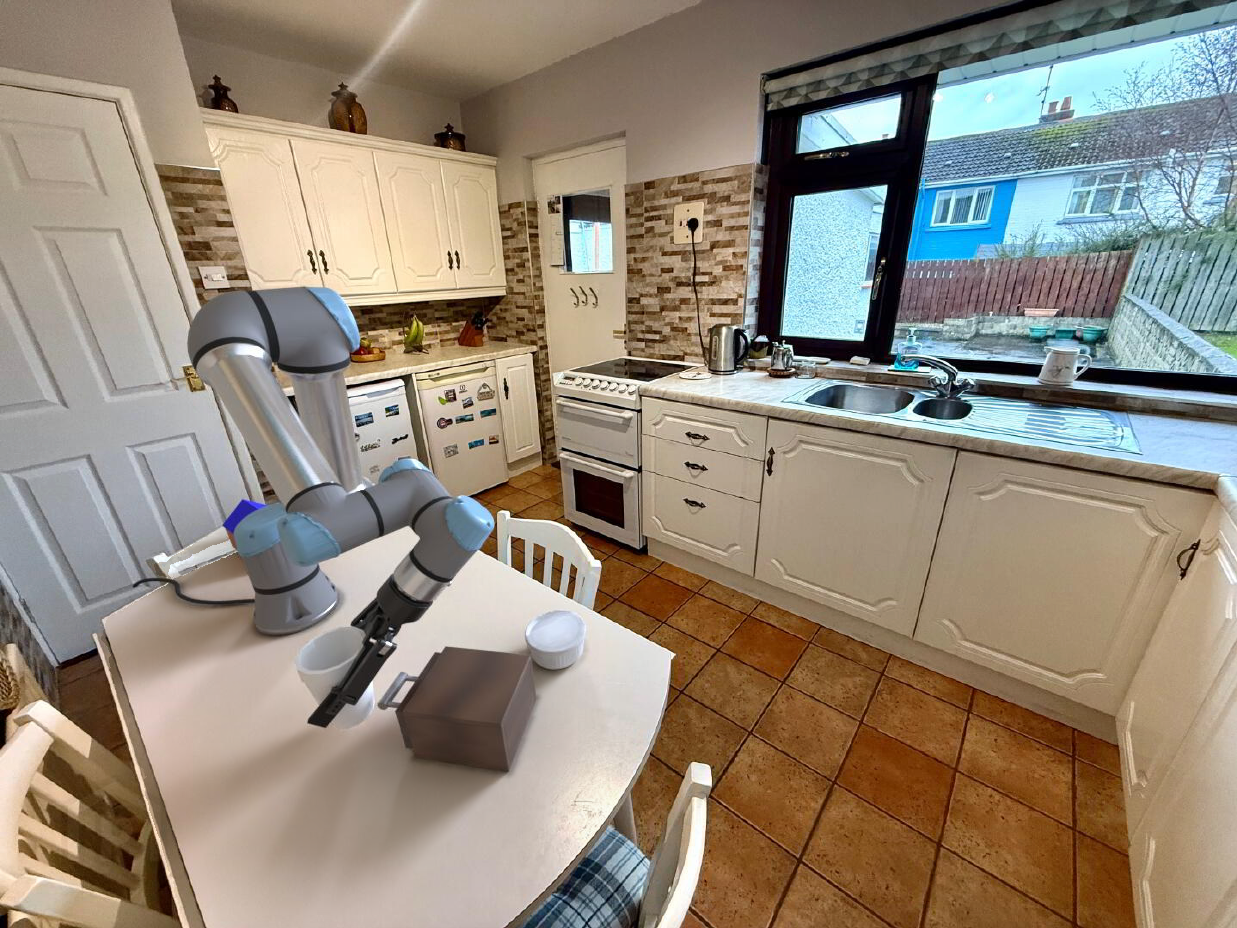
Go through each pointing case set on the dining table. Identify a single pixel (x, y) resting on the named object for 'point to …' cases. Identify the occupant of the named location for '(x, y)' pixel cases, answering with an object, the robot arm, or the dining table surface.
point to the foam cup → (334, 671)
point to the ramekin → (556, 638)
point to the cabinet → (472, 708)
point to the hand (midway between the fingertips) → (322, 696)
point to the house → (239, 517)
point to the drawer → (395, 688)
